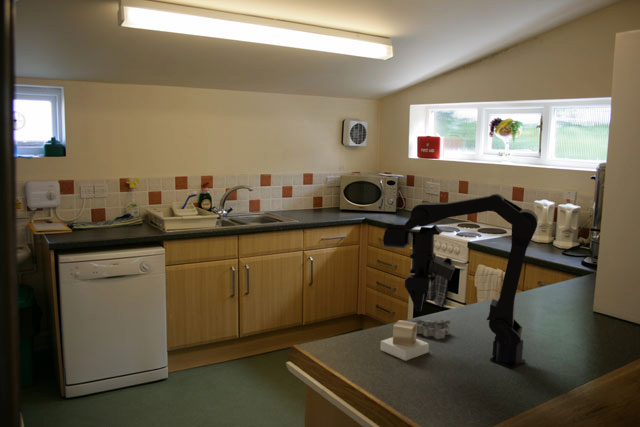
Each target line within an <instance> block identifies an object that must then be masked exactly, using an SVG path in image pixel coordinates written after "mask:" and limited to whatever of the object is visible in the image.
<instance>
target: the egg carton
mask: <svg viewBox="0 0 640 427" xmlns="http://www.w3.org/2000/svg"><path fill="white" fill-rule="evenodd" d="M411 322H414V323H417V334H416V335H418V334H421V335H422V336H424V337H434V338H435V339H436V340H439V339H440V340H441V339H445V338H446V336H449V333H450V332H449V331H450V327H449V326H450V324H451V320H447V319H440V321H439V320H434V321H433V320H430V319H429V320H427V319H426V320H425V319H424V320H422V319H421V318H415V319H413V320H411Z"/></svg>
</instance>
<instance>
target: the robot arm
mask: <svg viewBox="0 0 640 427" xmlns="http://www.w3.org/2000/svg"><path fill="white" fill-rule="evenodd" d="M484 212H494V213H496V214H497V215H499V217H501V218H502V219H503V220H505V221H506V222H507V223H508V224H510V225H511V248H510V251H509V255H508V259H507V264H506V269H505V273H504V277H503V280H502V285H501V291H500V293H499V297H498V299H495V298H492V299H491V302H490V305H489V312H488V315H487V317H486V321H488V327H489V329H490V331H491V332H492V333H493V334H495V336H494V340H493V341H492V352H491V353H492V357H490V358H489V360H490V361H491V362H494V363H495V364H500V365H502V366H505V367H506V368H507V367H508V368H509V369H513V368H516V367H517V366H520V365H522V364H524V363H525V362H526V360H525V359H523V348H524V340H523V339H522V338H521V337H522V332H523V326H522V325H520V323H519V322H518V321H517V320H516V319H515V314H516V313H515V310H516V309H515V308H516V307H515V305H516V301H515V300H516V298H515V297H516V295H517V290H518V286H519V282H520V277H521V274H522V269H523V265H524V262H525V257H526V253H527V249H528V247H529V245H530V243H531V241H532V239H533V236H534V235H535V232H536V230H537V228H538V224H539V218H538V215H537V214H536V213H535V211H533V210H531V209H527V208H524V209H523V208H522V207H520V206H519V205H517V204H515V202H514V203H513V202H512V201H510V200H508V199H507V198H505V197H504V196H503V195H502V194H500V193H493V194H490V195H486V196H479V197H473V198H468V199H461V200H457V201H456V200H455V201H450V202H440V201H439V202H434V201H432V202H431V201H429V202H427V201H423V202H421V203H419V204H417V205H415V206H414V207H413V208H412V209H411V212H410V217H409V218H408V220H407V221H406V222H405V223H397V222H392V221H390V222H389V221H388V222H387V223H386V224H385V230H384V234H383V236H382V240H383V242H382V243H383V246H384V248H393V249H404V250H405V249H407V248H408V246H410V245H411V253H410V257H409V258H410V259H411V268H410V269H409V270H410V271H409V273H410V274H409V275H407V277H406V278H405V280H404V288H405V290H407V293H408V294H409V297H410V299H411V301H412V304H413V306H414V309H415V311H416V312H418V313H419V312H421V311H422V309H423V302H425V303H426V302H427V300H428V295H429V292H430V290H431V285H432V284H431V283H432V282H433V281H434V280H436V279H437V276H439V277H441V278H442V279H444V280H446V281H451V278H452V276H453V274H454V272H455V270H456V266H455V265H454V264H453V259H452V258H450V257H445V258H444V259H439V258H437V254H436V253H435V252H434V248H435V247H434V246H435V236H439V235H441V234H442V233H443V230H441V229H440V228H439V226H437V224H434V223H436V222H439V221H442V220H444V219H445V220H446V219H448V218H452V217H453V218H454V217H460V216H461V217H462V216H466V215H472V214H478V213H479V214H481V213H484ZM431 224H433V225H432V226H431V227H430V226H428V225H431ZM416 227H420V228H419V229H415V228H416Z"/></svg>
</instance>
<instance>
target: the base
mask: <svg viewBox="0 0 640 427" xmlns="http://www.w3.org/2000/svg"><path fill="white" fill-rule="evenodd" d="M380 351H382V352H384V353H387V354H389V355H391V356H393V357H396V358H397V359H398V358H399V359H401V360H403V361H409V360H411V359H414V358H417V357H419V356H423V355H424V354H427V353H429V343H428V342H426V341H423V340H421V339H419V338H416V342H415V343H414V344H413V345H412V346H411V347H408V346H402V345H397V344H393V336H392V337H389V338H385V339H383V340H380Z"/></svg>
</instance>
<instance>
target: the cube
mask: <svg viewBox="0 0 640 427" xmlns="http://www.w3.org/2000/svg"><path fill="white" fill-rule="evenodd" d="M392 327H393V328H392V329H393V330H392V337H393V344H397V345H402V346H408V347H411V346H412V345H413V344H414V343H415V342H416V339H417V335H418V334H417V323H414V322H412V321H406V320H400V319H398V320H397V322H396V323H395V324H394V325H392Z"/></svg>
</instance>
